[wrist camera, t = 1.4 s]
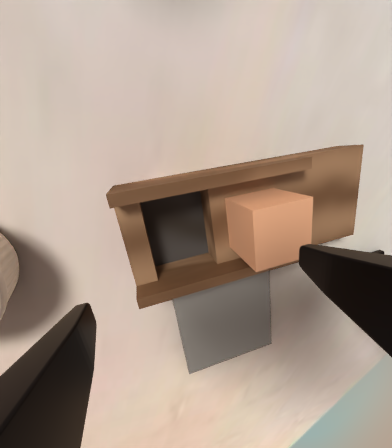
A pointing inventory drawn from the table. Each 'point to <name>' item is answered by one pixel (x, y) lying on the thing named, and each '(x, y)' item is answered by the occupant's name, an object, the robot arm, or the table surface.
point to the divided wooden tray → (224, 217)
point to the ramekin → (7, 272)
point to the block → (269, 226)
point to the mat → (224, 321)
